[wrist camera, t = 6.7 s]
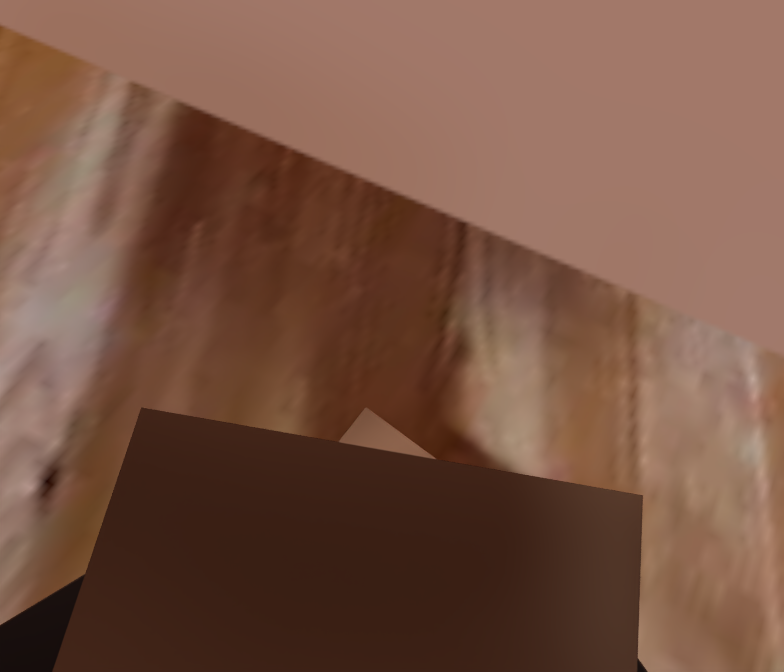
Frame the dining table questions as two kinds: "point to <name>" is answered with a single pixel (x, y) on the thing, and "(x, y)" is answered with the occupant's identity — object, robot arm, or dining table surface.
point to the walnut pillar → (348, 562)
